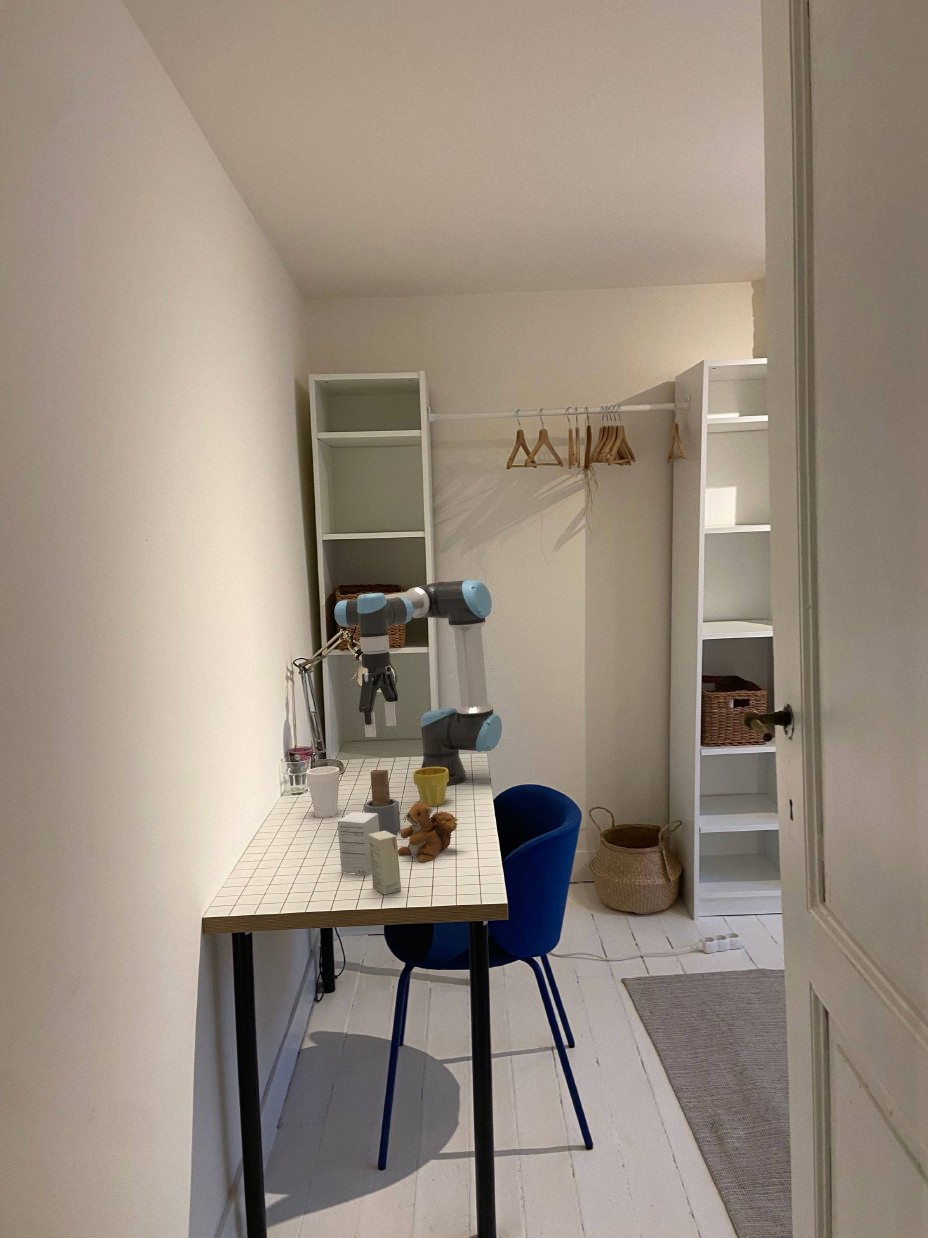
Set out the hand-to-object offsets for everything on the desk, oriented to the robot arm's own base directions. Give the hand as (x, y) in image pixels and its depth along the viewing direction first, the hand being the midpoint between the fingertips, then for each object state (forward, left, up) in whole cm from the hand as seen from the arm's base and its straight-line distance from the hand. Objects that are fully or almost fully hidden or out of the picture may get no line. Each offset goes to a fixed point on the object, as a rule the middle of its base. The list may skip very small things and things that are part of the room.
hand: (381, 731), depth 235 cm
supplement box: (+28, +5, -27) cm, 40 cm away
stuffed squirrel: (+16, +18, -27) cm, 36 cm away
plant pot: (-27, +3, -27) cm, 38 cm away
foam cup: (-13, -25, -27) cm, 39 cm away
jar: (+1, -1, -27) cm, 27 cm away
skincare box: (+39, +16, -27) cm, 51 cm away
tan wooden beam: (+1, -1, -27) cm, 26 cm away
